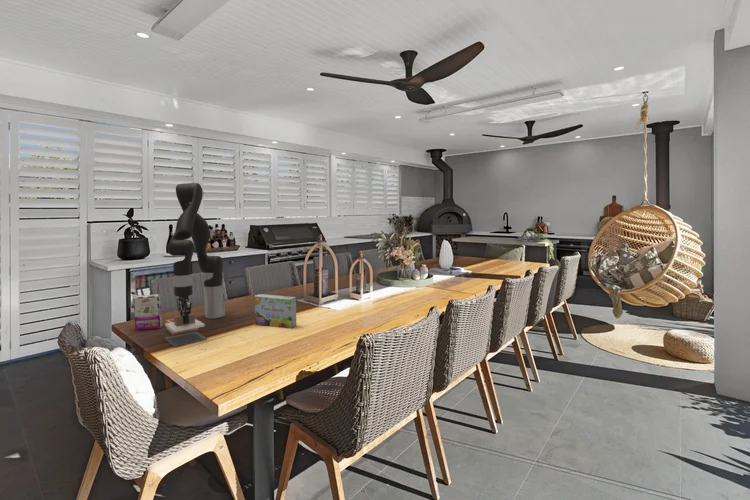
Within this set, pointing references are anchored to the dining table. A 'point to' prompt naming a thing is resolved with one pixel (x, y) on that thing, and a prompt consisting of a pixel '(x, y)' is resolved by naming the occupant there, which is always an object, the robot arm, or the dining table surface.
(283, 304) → the snack box
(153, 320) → the candy bar box
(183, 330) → the dish
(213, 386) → the dining table surface
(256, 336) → the dining table surface
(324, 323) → the dining table surface
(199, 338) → the mat
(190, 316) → the lid
